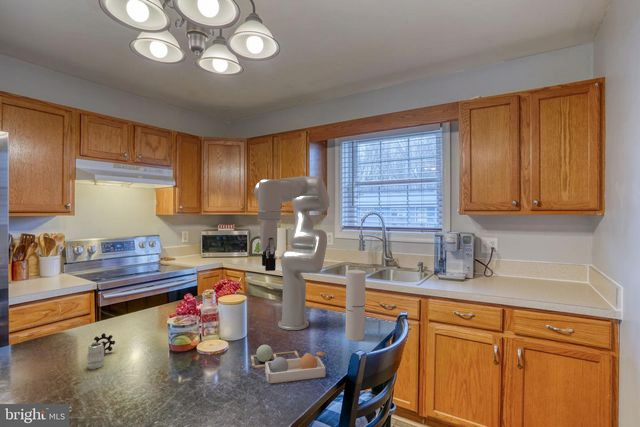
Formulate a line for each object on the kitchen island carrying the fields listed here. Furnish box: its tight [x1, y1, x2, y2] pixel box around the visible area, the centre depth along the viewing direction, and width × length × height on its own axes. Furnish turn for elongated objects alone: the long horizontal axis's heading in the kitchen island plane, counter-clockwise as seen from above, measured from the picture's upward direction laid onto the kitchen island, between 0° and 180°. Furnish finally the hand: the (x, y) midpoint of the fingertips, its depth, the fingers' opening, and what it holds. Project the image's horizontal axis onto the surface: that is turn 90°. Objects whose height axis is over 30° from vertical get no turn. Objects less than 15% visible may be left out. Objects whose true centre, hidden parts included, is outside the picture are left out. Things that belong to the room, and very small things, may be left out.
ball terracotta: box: [300, 354, 317, 369], centre depth 97 cm, size 5×5×5 cm
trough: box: [264, 355, 326, 385], centre depth 96 cm, size 8×16×3 cm, turn 106°
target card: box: [303, 351, 326, 357], centre depth 109 cm, size 6×9×1 cm, turn 106°
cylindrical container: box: [344, 269, 367, 342], centre depth 126 cm, size 7×7×25 cm
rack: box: [250, 350, 301, 369], centre depth 104 cm, size 8×15×1 cm, turn 106°
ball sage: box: [255, 344, 274, 363], centre depth 103 cm, size 5×5×5 cm
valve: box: [86, 332, 116, 370], centre depth 102 cm, size 7×7×12 cm
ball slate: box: [271, 356, 288, 373], centre depth 95 cm, size 5×5×5 cm
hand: (268, 268), depth 110 cm, fingers open, 9 cm apart
